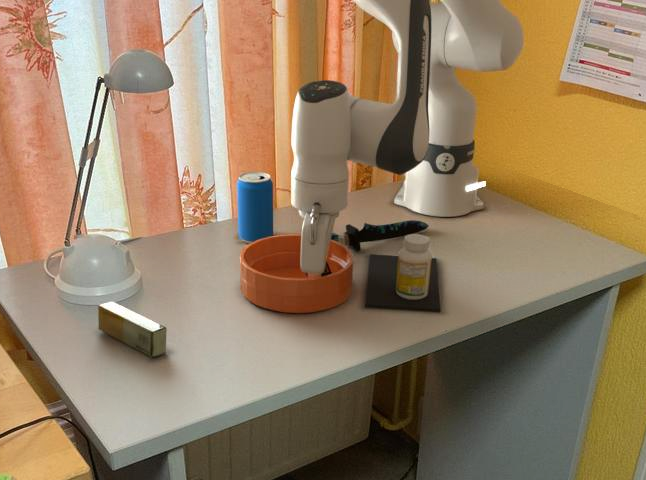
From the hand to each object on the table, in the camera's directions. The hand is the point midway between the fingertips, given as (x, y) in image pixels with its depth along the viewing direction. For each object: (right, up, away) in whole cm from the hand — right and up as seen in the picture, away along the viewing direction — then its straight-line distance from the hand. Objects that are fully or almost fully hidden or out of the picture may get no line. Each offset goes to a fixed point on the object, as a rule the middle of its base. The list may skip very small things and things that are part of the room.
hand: (317, 275), depth 129 cm
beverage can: (-12, +9, +19) cm, 24 cm away
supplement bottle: (+15, -3, +1) cm, 16 cm away
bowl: (-3, -2, +2) cm, 4 cm away
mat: (+14, -1, +5) cm, 15 cm away
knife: (+9, +7, +19) cm, 22 cm away
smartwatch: (0, -2, +2) cm, 3 cm away
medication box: (-26, -11, -15) cm, 32 cm away
